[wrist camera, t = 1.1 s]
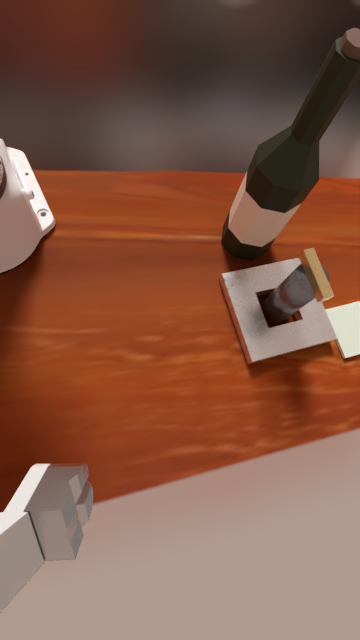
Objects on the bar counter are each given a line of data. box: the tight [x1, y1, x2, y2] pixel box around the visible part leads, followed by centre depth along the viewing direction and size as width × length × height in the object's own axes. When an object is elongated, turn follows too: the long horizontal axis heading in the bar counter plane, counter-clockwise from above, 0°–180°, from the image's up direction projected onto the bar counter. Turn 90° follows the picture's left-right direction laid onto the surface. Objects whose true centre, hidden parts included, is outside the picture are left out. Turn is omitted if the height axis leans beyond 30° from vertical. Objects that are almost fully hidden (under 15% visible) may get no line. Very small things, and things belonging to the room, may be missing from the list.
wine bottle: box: [221, 28, 360, 260], centre depth 41 cm, size 8×8×30 cm
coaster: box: [325, 301, 360, 359], centre depth 52 cm, size 8×8×1 cm
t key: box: [261, 248, 334, 324], centre depth 45 cm, size 6×4×13 cm
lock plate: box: [219, 258, 337, 364], centre depth 51 cm, size 14×14×2 cm
